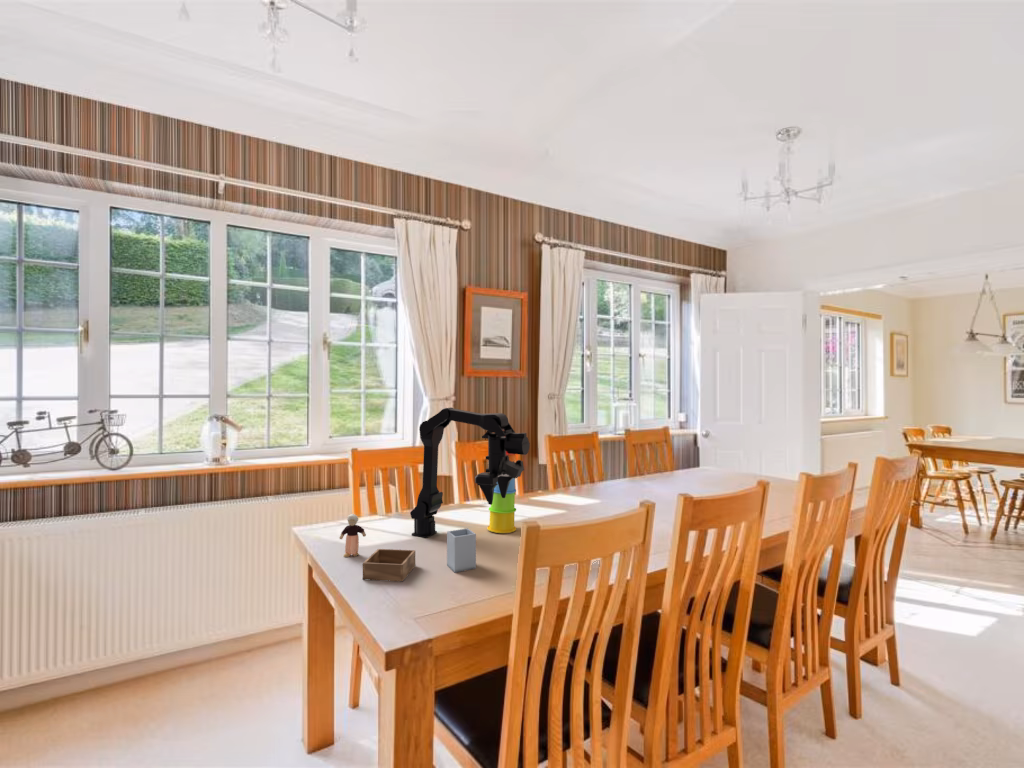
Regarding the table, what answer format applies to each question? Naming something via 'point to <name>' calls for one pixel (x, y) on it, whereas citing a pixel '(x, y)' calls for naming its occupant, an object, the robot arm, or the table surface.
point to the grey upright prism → (461, 550)
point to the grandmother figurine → (352, 536)
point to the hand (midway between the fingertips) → (497, 501)
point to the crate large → (389, 564)
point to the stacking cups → (503, 507)
